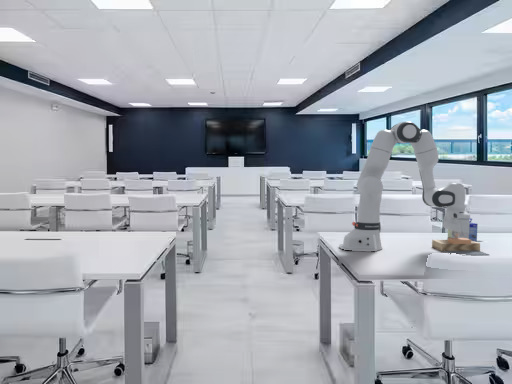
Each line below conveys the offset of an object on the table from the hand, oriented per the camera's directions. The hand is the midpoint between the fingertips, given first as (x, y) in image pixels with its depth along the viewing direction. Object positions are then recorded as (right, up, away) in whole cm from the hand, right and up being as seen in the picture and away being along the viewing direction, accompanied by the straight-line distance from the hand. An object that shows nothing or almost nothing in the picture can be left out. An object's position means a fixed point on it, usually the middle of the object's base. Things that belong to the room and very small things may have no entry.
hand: (455, 239), depth 221 cm
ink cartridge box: (+13, -4, +12) cm, 18 cm away
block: (0, -1, -4) cm, 5 cm away
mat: (0, -6, -11) cm, 12 cm away
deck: (0, -5, 0) cm, 5 cm away
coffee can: (+15, -3, +29) cm, 33 cm away
